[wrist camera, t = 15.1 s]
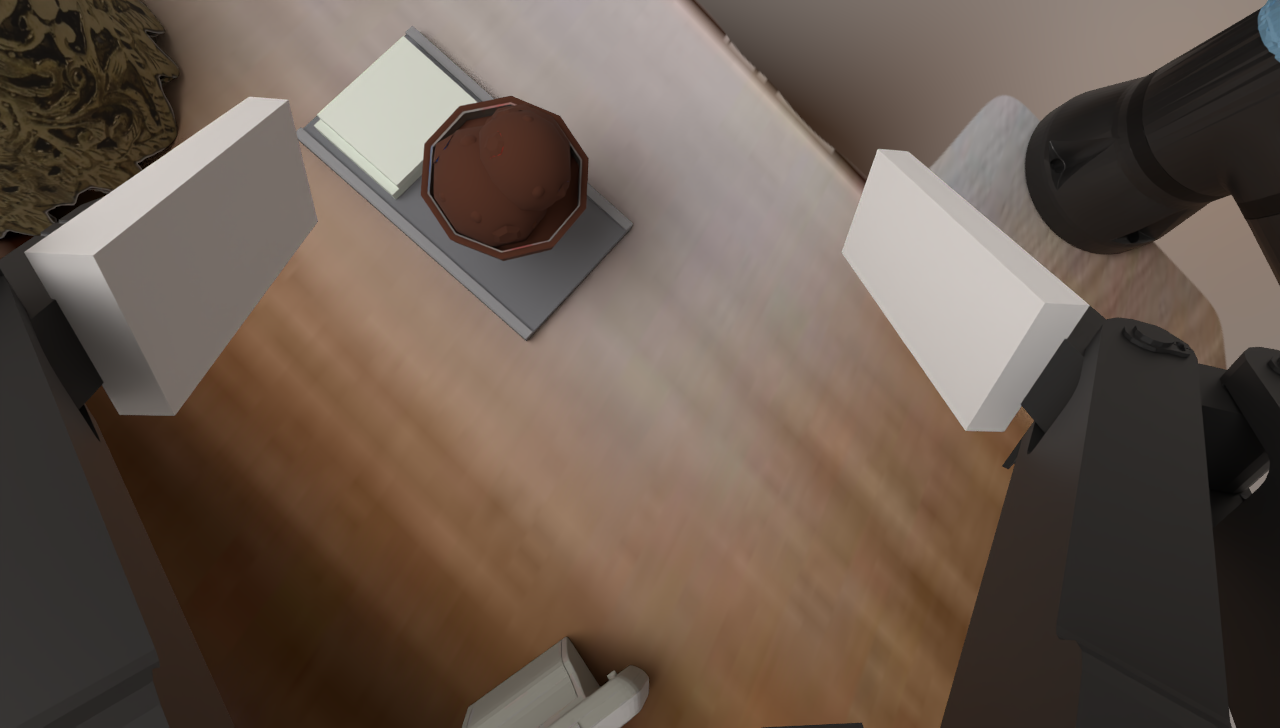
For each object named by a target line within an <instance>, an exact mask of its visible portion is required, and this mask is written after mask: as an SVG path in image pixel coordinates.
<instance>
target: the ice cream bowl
mask: <svg viewBox="0 0 1280 728" xmlns="http://www.w3.org/2000/svg"><path fill="white" fill-rule="evenodd" d="M587 181H588V157H587V156H586V154H585V153H584V151H583V150H582V148H581V147H580V145H579V144H578V142H577V141H576V139H575V138H574V136H573V135H572V133H571V132H570V130H569V129H568V127H567V126H566V124H565V123H564V121H563V120H562V118H561V117H560V116H559V115H556V114H554V113H551V112H549V111H547V110H544V109H542V108H539V107H537V106H534V105H532V104H530V103H527V102H525V101H522V100H520V99H518V98H515V97H513V96H508V97H503V98H498V99H493V100H488V101H482V102H477V103H472V104H467V105H462V106H459V107H458V108H457V109H456V110H455V111H454V112H453V113H452V114H451V116H450V117H449V118H448V119H447V120H446V121H445V122H444V123H443V124H442V125H441V126H440V127H439V128H438V130H437V131H436V132H435V133H434V134H433V135H432V136H431V137H430V138H429V139H428V140H427V141H426V142H425V143H424V155H423V169H422V182H421V196H422V198H423V199H424V201H425V202H426V204H427V205H428V207H429V208H430V210H431V211H432V213H433V214H434V216H435V217H436V219H437V220H438V222H439V223H440V225H441V226H442V228H443V229H444V231H445V232H446V234H447V235H448V237H449V238H450V240H452V241H454V242H456V243H458V244H461V245H463V246H466V247H468V248H471V249H474V250H476V251H479V252H481V253H484V254H487V255H489V256H492V257H494V258H497V259H500V260H502V261H506V260H510V259H514V258H519V257H523V256H527V255H531V254H535V253H540V252H544V251H548V250H551V249H552V248H553V247H554V246H555V245H556V244H557V242H558V241H559V240H560V239H561V238H562V237H563V235H564V234H565V233H566V232H567V231H568V229H569V228H570V227H571V226H572V225H573V224H574V222H575V221H576V220H577V219H578V218H579V217H580V215H581V214H582V213H583V212H584V210H585V209H586V203H587Z"/></svg>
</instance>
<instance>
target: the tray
mask: <svg viewBox="0 0 1280 728" xmlns="http://www.w3.org/2000/svg"><path fill="white" fill-rule="evenodd" d="M404 37H405V38H406V39H407V40H408V41H410V42H411V43H412V44H413V45H414V46H415V47H416V48H417V49H418V50H420V51H421V52H422V53H423V54H424V55H425V56H426V57H427V58H429V59H430V60H431V61H432V62H433V63H434V64H435V65H436V66H437V67H439V68H440V69H441V70H442V71H443V72H444V73H445V74H446V75H448V76H449V77H450V78H451V79H452V80H453V81H454V82H455V83H456V84H458V85H459V86H460V87H461V88H462V89H463V90H464V91H465V92H466V93H468V94H469V95H470V96H471V97H472V98H473V99H474V100H475V101H477V102H482V101H488V100H493V99H494V98H492V97H491V96H490V95H489V94H488V93H487V92H486V91H485V90H484V89H482V88H481V87H480V86H479V85H478V84H477V83H476V82H475V81H473V80H472V79H471V78H470V77H469V76H468V75H467V74H466V73H465V72H463V71H462V70H461V69H460V68H459V67H458V66H457V65H456V64H455V63H453V62H452V61H451V60H450V59H449V58H448V57H447V56H446V55H444V54H443V53H442V52H441V51H440V50H439V49H438V48H437V47H436V46H434V45H433V44H432V43H431V42H430V41H429V40H428V39H427V38H426V37H424V36H423V35H422V34H421V33H420V32H419V31H418V30H417V29H415V28H414V27H413V26H412V27H410V28H409V29H408V30H407V31H406V35H405V36H404ZM319 120H320V118H319V117H318V115H317V116H316V117H315V118H314V119H313V120H312V121H311V122H310V123H309V124H307V125H306V126H305V127H304V128H303V129H302V128H301V127H300V128H299V129H298V130H297V131H296V133H297V137H298V140H299V141H300V142H301V143H302V144H303V145H305V146H306V147H307V148H308V149H309V150H310V151H311V152H313V153H314V154H315V155H316V156H317V157H318V158H319V159H320V160H322V161H323V162H324V163H325V164H326V165H327V166H328V167H330V168H331V169H332V170H333V171H334V172H335V173H336V174H337V175H339V176H340V177H341V178H342V179H343V180H344V181H345V182H347V183H348V184H349V185H350V186H351V187H352V188H353V189H354V190H356V191H357V192H358V193H359V194H360V195H361V196H362V197H364V198H365V199H366V200H367V201H368V202H369V203H370V204H371V205H373V206H374V207H375V208H376V209H377V210H378V211H379V212H381V213H382V214H383V215H384V216H385V217H386V218H387V219H388V220H390V221H391V222H392V223H393V224H394V225H395V226H396V227H398V228H399V229H400V230H401V231H402V232H403V233H404V234H405V235H407V236H408V237H409V238H410V239H411V240H412V241H413V242H415V243H416V244H417V245H418V246H419V247H420V248H421V249H422V250H424V251H425V252H426V253H427V254H428V255H429V256H430V257H432V258H433V259H434V260H435V261H436V262H437V263H438V264H439V265H441V266H442V267H443V268H444V269H445V270H446V271H447V272H449V273H450V274H451V275H452V276H453V277H454V278H455V279H456V280H458V281H459V282H460V283H461V284H462V285H463V286H464V287H466V288H467V289H468V290H469V291H470V292H471V293H472V294H473V295H475V296H476V297H477V298H478V299H479V300H480V301H481V302H483V303H484V304H485V305H486V306H487V307H488V308H489V309H490V310H492V311H493V312H494V313H495V314H496V315H497V316H498V317H500V318H501V319H502V320H503V321H504V322H505V323H506V324H507V325H509V326H510V327H511V328H512V329H513V330H514V331H515V332H517V333H518V334H519V335H520V336H521V337H522V338H523V339H524V340H526V341H527V340H528V339H529V338H530V337H531V336H532V335H533V334H534V332H535V331H536V330H537V329H538V328H539V327H540V326H541V325H542V324H543V323H544V322H545V321H546V320H547V318H548V317H549V316H550V315H551V314H552V313H553V312H554V311H555V310H556V309H557V308H558V307H559V306H560V304H561V303H562V302H563V301H564V300H565V299H566V298H567V297H568V296H569V295H570V294H571V293H572V292H573V290H574V289H575V288H576V287H577V286H578V285H579V284H580V283H581V282H582V281H583V280H584V279H585V278H586V276H587V275H588V274H589V273H590V272H591V271H592V270H593V269H594V268H595V267H596V266H597V265H598V264H599V262H600V261H601V260H602V259H603V258H604V257H605V256H606V255H607V254H608V253H609V252H610V251H611V250H612V248H613V247H614V246H615V245H616V244H617V243H618V242H619V241H620V240H621V239H622V238H623V237H624V236H625V234H626V233H627V232H628V231H629V230H630V229H631V228H632V225H633V223H632V222H631V221H630V220H628V219H627V218H626V217H625V216H624V215H623V214H622V213H621V212H620V211H618V210H617V209H616V208H615V207H614V206H613V205H612V204H611V203H610V202H608V201H607V200H606V199H605V198H604V197H603V196H602V195H601V194H599V193H598V192H597V191H596V190H595V189H594V188H593V187H592V186H591V185H589V184H588V183H587V203H586V209H585V210H584V212H583V213H582V214H581V215H580V217H579V218H578V219H577V220H576V221H575V222H574V224H573V225H572V226H571V227H570V228H569V229H568V231H567V232H566V233H565V234H564V235H563V237H562V238H561V239H560V240H559V241H558V242H557V244H556V245H555V246H554V247H553V248H552V249H551V250H548V251H544V252H540V253H535V254H531V255H527V256H523V257H519V258H514V259H510V260H506V261H502V260H500V259H497V258H494V257H492V256H489V255H487V254H484V253H481V252H479V251H476V250H474V249H471V248H468V247H466V246H463V245H461V244H458V243H456V242H454V241H452V240H450V238H449V237H448V235H447V234H446V232H445V231H444V229H443V228H442V226H441V225H440V223H439V222H438V220H437V219H436V217H435V216H434V214H433V213H432V211H431V210H430V208H429V207H428V205H427V204H426V202H425V201H424V199H423V198H422V196H421V182H422V175H421V176H420V177H419V178H418V179H417V180H416V181H415V182H414V183H413V184H412V185H411V186H410V187H409V188H408V189H407V190H406V191H405V192H404V193H403V194H402V195H400V196H399V197H398V198H397V199H394V198H393V197H392V196H391V195H390V194H389V193H388V192H387V191H385V190H384V189H383V188H382V187H381V186H380V185H379V184H377V183H376V182H375V181H374V180H373V179H372V178H371V177H370V176H368V175H367V174H366V173H365V172H364V171H363V170H362V169H361V168H359V167H358V166H357V165H356V164H355V163H354V162H353V161H351V160H350V159H349V158H348V157H347V156H346V155H345V154H344V153H342V152H341V151H340V150H339V149H338V148H337V147H336V146H335V145H333V144H332V143H331V142H330V141H329V140H328V139H327V138H325V137H324V136H323V135H322V134H321V133H320V132H319V131H318V130H317V129H316V128H315V126H314V125H315V124H316V123H317V122H318V121H319Z"/></svg>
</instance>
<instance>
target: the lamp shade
mask: <svg viewBox="0 0 1280 728" xmlns="http://www.w3.org/2000/svg"><path fill="white" fill-rule="evenodd" d="M162 33H164V29H163V27H162V25H161V24H160V22H159V21H158V20H157V19H156V18H155V16H154V15H153V14H152V13H151V11H150V10H149V9H148V8H147V7H146V6H145V4H143V3H142V2H141V0H0V239H1V238H3V237H4V236H5V235H6V233H7V232H8V231H12V232H16V233H21V234H27V235H32V236H41V233H40V232H42V231H43V230H45V229H46V228H48V227H49V226H51V225H52V224H54V223H59V222H57V219H56V218H55V217H53V216H52V215H50V214H49V212H48V211H49V210H51V209H54V208H55V207H57V206H58V207H59V206H61V205H75V203H76V201H77V198H78V195H79V194H80V193H82V192H84V191H86V190H88V189H89V188H94V189H89V190H95V191H102V192H103V193H107V194H109V193H110V192H112V191H113V190H115V189H116V188H117V187H119V186H120V185H122V184H123V183H125V182H126V181H128V180H129V179H131V178H132V177H133V176H135V175H136V174H138V173H139V172H141V171H142V168H141V167H140V166H139V165H138V163H140V162H142V161H143V160H144V159H146V158H149V157H151V156H153V155H155V154H157V153H158V152H160V151H162V150H164V149H165V148H166V147H168V146H169V145H170V144H171V143H172V142H173V141H174V140H175V138H176V136H177V127H176V121H175V117H174V113H173V109H172V107H171V105H170V103H169V101H168V100H167V98H166V96H165V94H164V92H163V90H162V83H161V82H162V81H164V82H165V83H166V82H170V81H171V80H172V79H173V78H177V77H178V75H179V68H178V66H177V65H176V64H175V63H174V62H173V61H172V60H171V59H170V58H169V57H168V56H167V55H166V54H165V53H164V52H163V51H162V50H161V49H160V48H159V47H158V46H157V45H156V44H155V42H154V41H153V40H152V39H151V38H150V37H156V36H158V35H159V34H162ZM159 77H162V78H163V79H161V81H160V78H159ZM102 189H104V190H102ZM106 190H109V191H110V192H109V191H106Z"/></svg>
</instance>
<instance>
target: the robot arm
mask: <svg viewBox="0 0 1280 728" xmlns="http://www.w3.org/2000/svg"><path fill="white" fill-rule="evenodd" d="M1025 170H1026V180H1027V185H1028V189H1029V192H1030V195H1031V198H1032V200H1033V203H1034V205H1035V207H1036V209H1037V210H1038V212H1039V214H1040V215H1041V217H1042V218H1043V220H1044V221H1045V222H1046V223H1047V225H1048V226H1049V227H1050V228H1051V229H1052V230H1053V231H1054V232H1055V233H1056V234H1057V235H1059V236H1060V237H1061V238H1062V239H1064V240H1065V241H1067V242H1068V243H1070V244H1072V245H1074V246H1076V247H1078V248H1080V249H1083V250H1085V251H1089V252H1093V253H1099V254H1115V253H1120V252H1124V251H1128V250H1131V249H1134V248H1137V247H1140V246H1143V245H1146V244H1149V243H1151V242H1153V241H1155V240H1157V239H1159V238H1161V237H1162V236H1164V235H1165V234H1167V233H1168V232H1169V231H1171V230H1172V229H1174V228H1175V227H1176V226H1178V225H1179V224H1181V223H1182V222H1183V221H1185V220H1186V219H1188V218H1189V217H1190V216H1192V215H1193V214H1195V213H1196V212H1197V211H1199V210H1200V209H1201V208H1203V207H1204V206H1206V205H1207V204H1208V203H1210V202H1212V201H1215V200H1217V199H1220V198H1223V197H1226V196H1229V195H1232V196H1233V197H1234V199H1235V201H1236V203H1237V205H1238V206H1239V208H1240V210H1241V212H1242V214H1243V216H1244V218H1245V219H1246V221H1247V223H1248V224H1249V226H1250V228H1251V230H1252V232H1253V234H1254V236H1255V238H1256V240H1257V242H1258V244H1259V246H1260V248H1261V250H1262V252H1263V254H1264V256H1265V257H1266V260H1267V262H1268V263H1269V265H1270V267H1271V269H1272V271H1273V273H1274V275H1275V277H1276V279H1277V281H1278V283H1279V285H1280V0H1268V1H1267V3H1266V4H1265V5H1264V6H1263V7H1262V8H1261V9H1259V10H1257V11H1256V12H1254V13H1252V14H1251V15H1249V16H1247V17H1246V18H1244V19H1242V20H1241V21H1239V22H1237V23H1235V24H1234V25H1232V26H1231V27H1229V28H1227V29H1225V30H1224V31H1222V32H1220V33H1218V34H1217V35H1215V36H1213V37H1212V38H1210V39H1208V40H1207V41H1205V42H1204V43H1201V44H1200V45H1198V46H1196V47H1195V48H1193V49H1192V50H1190V51H1188V52H1186V53H1185V54H1183V55H1181V56H1179V57H1178V58H1176V59H1174V60H1172V61H1171V62H1169V63H1167V64H1166V65H1164V66H1163V67H1161V68H1159V69H1158V70H1156V71H1155V72H1153V73H1151V74H1149V75H1147V76H1145V77H1141V78H1137V79H1134V80H1130V81H1126V82H1122V83H1119V84H1115V85H1111V86H1107V87H1103V88H1099V89H1096V90H1092V91H1088V92H1085V93H1083V94H1080V95H1078V96H1076V97H1074V98H1072V99H1070V100H1069V101H1067V102H1066V103H1064V104H1062V105H1061V106H1059V107H1058V108H1056V109H1055V110H1053V111H1052V112H1050V113H1049V114H1048V115H1047V116H1046V117H1045V118H1044V119H1043V120H1042V121H1041V122H1040V123H1039V124H1038V126H1037V127H1036V129H1035V131H1034V132H1033V134H1032V136H1031V139H1030V142H1029V145H1028V148H1027V153H1026V162H1025ZM317 222H318V220H317V216H316V212H315V208H314V204H313V199H312V195H311V191H310V187H309V183H308V179H307V175H306V171H305V166H304V162H303V158H302V154H301V150H300V146H299V142H298V137H297V133H296V129H295V125H294V121H293V117H292V113H291V109H290V104H289V100H284V99H272V98H260V97H248V98H246V99H245V100H243V101H242V102H241V103H239V104H238V105H236V106H235V107H233V108H232V109H230V110H229V111H228V112H226V113H225V114H223V115H222V116H220V117H219V118H217V119H216V120H214V121H213V122H212V123H210V124H209V125H207V126H206V127H204V128H203V129H201V130H200V131H199V132H197V133H196V134H194V135H193V136H191V137H190V138H188V139H187V140H186V141H184V142H183V143H181V144H180V145H178V146H177V147H175V148H174V149H172V150H171V151H170V152H168V153H167V154H165V155H164V156H162V157H161V158H159V159H158V160H157V161H155V162H154V163H152V164H151V165H149V166H148V167H146V168H145V169H144V170H142V171H141V172H139V173H138V174H136V175H135V176H133V177H132V178H131V179H129V180H128V181H126V182H125V183H123V184H122V185H120V186H119V187H117V188H116V189H115V190H113V191H112V192H110V193H109V194H107V195H106V196H104V197H101V198H98V199H96V200H93V201H90V202H88V203H85V204H82V205H80V206H79V207H77V208H76V209H74V210H73V211H71V212H70V213H68V214H67V215H65V216H64V217H62V218H61V219H59V223H54V224H52V225H51V226H49V227H48V228H46V229H45V230H43V231H42V232H40V233H41V236H34V237H33V238H31V239H30V240H28V241H27V242H25V243H24V244H22V245H21V246H19V247H18V248H16V249H15V250H14V251H12V252H11V253H9V254H8V255H6V256H5V257H3V258H2V259H0V728H235V727H234V725H233V723H232V720H231V718H230V716H229V714H228V711H227V709H226V707H225V705H224V703H223V700H222V698H221V696H220V694H219V692H218V689H217V687H216V685H215V683H214V681H213V678H212V676H211V674H210V672H209V670H208V667H207V665H206V663H205V661H204V659H203V656H202V654H201V652H200V650H199V648H198V645H197V643H196V641H195V639H194V636H193V634H192V632H191V630H190V628H189V625H188V623H187V621H186V619H185V617H184V614H183V612H182V610H181V608H180V606H179V603H178V601H177V599H176V597H175V595H174V592H173V590H172V588H171V586H170V584H169V581H168V579H167V577H166V575H165V573H164V570H163V568H162V566H161V564H160V561H159V559H158V557H157V555H156V553H155V550H154V548H153V546H152V544H151V542H150V539H149V537H148V535H147V533H146V531H145V528H144V526H143V524H142V522H141V520H140V517H139V515H138V513H137V511H136V509H135V506H134V504H133V502H132V500H131V498H130V495H129V493H128V491H127V489H126V486H125V484H124V482H123V480H122V478H121V475H120V473H119V471H118V469H117V467H116V464H115V462H114V460H113V458H112V456H111V453H110V451H109V449H108V447H107V445H106V442H105V440H104V438H103V436H102V434H101V431H100V429H99V427H98V425H97V423H96V421H95V419H94V417H93V416H92V414H91V413H90V411H89V409H88V408H87V406H86V405H85V402H86V401H87V400H88V399H89V398H90V397H91V396H92V395H93V394H94V393H95V392H96V390H97V389H98V388H99V387H100V386H101V385H102V386H103V387H104V389H105V391H106V393H107V394H108V396H109V398H110V399H111V401H112V403H113V404H114V406H115V408H116V410H117V411H118V413H119V415H166V416H175V415H176V413H177V412H178V411H179V409H180V408H181V406H182V405H183V404H184V402H185V401H186V400H187V398H188V397H189V396H190V394H191V393H192V392H193V390H194V389H195V387H196V386H197V385H198V383H199V382H200V381H201V379H202V378H203V377H204V375H205V374H206V373H207V371H208V370H209V368H210V367H211V366H212V364H213V363H214V362H215V360H216V359H217V358H218V356H219V355H220V354H221V352H222V351H223V349H224V348H225V347H226V345H227V344H228V343H229V341H230V340H231V339H232V337H233V336H234V335H235V333H236V332H237V330H238V329H239V328H240V326H241V325H242V324H243V322H244V321H245V320H246V318H247V317H248V316H249V314H250V313H251V311H252V310H253V309H254V307H255V306H256V305H257V303H258V302H259V301H260V299H261V298H262V297H263V295H264V294H265V292H266V291H267V290H268V288H269V287H270V286H271V284H272V283H273V282H274V280H275V279H276V278H277V276H278V275H279V273H280V272H281V271H282V269H283V268H284V267H285V265H286V264H287V263H288V261H289V260H290V259H291V257H292V256H293V254H294V253H295V252H296V250H297V249H298V248H299V246H300V245H301V244H302V242H303V241H304V240H305V238H306V237H307V235H308V234H309V233H310V231H311V230H312V229H313V227H314V226H315V225H316V223H317ZM842 254H843V255H844V257H845V258H846V259H847V261H848V262H849V264H850V265H851V267H852V268H853V270H854V271H855V272H856V274H857V275H858V277H859V278H860V280H861V281H862V283H863V284H864V285H865V287H866V288H867V290H868V291H869V293H870V294H871V295H872V297H873V298H874V300H875V301H876V303H877V304H878V306H879V307H880V308H881V310H882V311H883V313H884V314H885V316H886V317H887V319H888V320H889V321H890V323H891V324H892V326H893V327H894V329H895V330H896V331H897V333H898V334H899V336H900V337H901V339H902V340H903V342H904V343H905V344H906V346H907V347H908V349H909V350H910V352H911V353H912V354H913V356H914V357H915V359H916V360H917V362H918V363H919V365H920V366H921V367H922V369H923V370H924V372H925V373H926V375H927V376H928V378H929V379H930V380H931V382H932V383H933V385H934V386H935V388H936V389H937V390H938V392H939V393H940V395H941V396H942V398H943V399H944V401H945V402H946V403H947V405H948V406H949V408H950V409H951V411H952V412H953V414H954V415H955V416H956V418H957V419H958V421H959V422H960V424H961V425H962V426H963V428H964V429H965V431H997V432H1004V431H1005V430H1006V428H1007V427H1008V425H1009V424H1010V422H1011V421H1012V419H1013V418H1014V416H1015V415H1016V413H1017V412H1018V410H1019V409H1020V408H1021V406H1023V408H1024V409H1025V410H1026V411H1027V412H1028V414H1029V415H1030V416H1031V417H1032V418H1033V420H1034V422H1033V423H1032V425H1031V426H1030V428H1029V429H1028V430H1027V432H1026V433H1025V435H1024V436H1023V437H1022V439H1021V440H1020V442H1019V443H1018V444H1017V446H1016V447H1015V449H1014V450H1013V451H1012V453H1011V454H1010V456H1009V457H1008V458H1007V460H1006V461H1005V463H1004V464H1003V467H1005V468H1007V469H1009V468H1010V467H1011V466H1012V465H1013V464H1015V466H1014V469H1013V473H1012V476H1011V480H1010V483H1009V487H1008V491H1007V494H1006V498H1005V501H1004V505H1003V508H1002V512H1001V515H1000V519H999V522H998V526H997V529H996V533H995V536H994V540H993V543H992V547H991V550H990V554H989V558H988V561H987V565H986V568H985V572H984V575H983V579H982V582H981V586H980V589H979V593H978V596H977V600H976V603H975V607H974V610H973V614H972V617H971V621H970V625H969V628H968V632H967V635H966V639H965V642H964V646H963V649H962V653H961V656H960V660H959V663H958V667H957V670H956V674H955V677H954V681H953V684H952V688H951V692H950V695H949V699H948V702H947V706H946V709H945V713H944V716H943V720H942V723H941V727H940V728H1232V727H1231V723H1230V717H1229V709H1230V712H1231V714H1232V717H1233V720H1234V723H1235V725H1236V728H1280V351H1279V350H1274V349H1269V348H1263V347H1252V348H1248V349H1247V350H1246V351H1245V352H1243V354H1242V355H1241V356H1240V357H1239V358H1238V359H1237V360H1236V361H1235V362H1234V363H1233V364H1232V365H1231V367H1230V368H1229V369H1228V370H1225V369H1220V368H1216V367H1212V366H1207V365H1203V364H1198V361H1197V357H1196V355H1195V353H1194V351H1193V350H1192V349H1191V348H1190V347H1189V345H1188V344H1186V343H1184V342H1183V341H1182V340H1180V339H1179V338H1177V337H1175V336H1174V335H1172V334H1170V333H1169V332H1168V331H1166V330H1164V329H1162V328H1160V327H1158V326H1155V325H1151V324H1148V323H1144V322H1140V321H1137V320H1133V319H1126V318H1112V319H1107V320H1106V319H1105V318H1104V317H1103V316H1101V315H1100V314H1099V313H1098V312H1097V311H1096V310H1094V309H1093V308H1092V307H1091V306H1090V305H1089V304H1088V303H1086V302H1085V301H1084V300H1083V299H1082V298H1080V297H1079V296H1078V295H1077V294H1076V293H1075V292H1073V291H1072V290H1071V289H1070V288H1069V287H1068V286H1066V285H1065V284H1064V283H1063V282H1062V281H1060V280H1059V279H1058V278H1057V277H1056V276H1055V275H1053V274H1052V273H1051V272H1050V271H1049V270H1047V269H1046V268H1045V267H1044V266H1043V265H1042V264H1040V263H1039V262H1038V261H1037V260H1036V259H1034V258H1033V257H1032V256H1031V255H1030V254H1029V253H1027V252H1026V251H1025V250H1024V249H1023V248H1021V247H1020V246H1019V245H1018V244H1017V243H1016V242H1014V241H1013V240H1012V239H1011V238H1010V237H1008V236H1007V235H1006V234H1005V233H1004V232H1003V231H1001V230H1000V229H999V228H998V227H997V226H995V225H994V224H993V223H992V222H991V221H990V220H988V219H987V218H986V217H985V216H984V215H982V214H981V213H980V212H979V211H978V210H977V209H975V208H974V207H973V206H972V205H971V204H970V203H968V202H967V201H966V200H965V199H964V198H962V197H961V196H960V195H959V194H958V193H957V192H955V191H954V190H953V189H952V188H951V187H949V186H948V185H947V184H946V183H945V182H944V181H942V180H941V179H940V178H939V177H938V176H936V175H935V174H934V173H933V172H932V171H931V170H929V169H928V168H927V167H926V166H925V165H923V164H922V163H921V162H920V161H919V160H917V159H916V158H915V157H914V156H913V155H912V154H910V153H909V152H908V151H896V150H884V149H878V150H877V153H876V156H875V159H874V162H873V164H872V167H871V170H870V173H869V176H868V179H867V181H866V184H865V187H864V190H863V193H862V196H861V199H860V201H859V204H858V207H857V210H856V213H855V216H854V218H853V221H852V224H851V227H850V230H849V233H848V236H847V238H846V241H845V244H844V247H843V250H842ZM1268 470H1269V473H1268V475H1267V478H1266V480H1265V481H1264V483H1263V484H1262V485H1261V486H1260V487H1259V488H1258V489H1257V490H1256V491H1255V492H1254V493H1253V494H1252V493H1251V491H1250V489H1249V487H1250V486H1251V485H1253V484H1254V483H1255V482H1256V481H1257V480H1258V479H1259V478H1261V477H1262V476H1263V475H1264V474H1265V473H1266V472H1267V471H1268ZM763 728H863V725H862V723H847V724H826V725H805V726H784V727H763Z"/></svg>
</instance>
